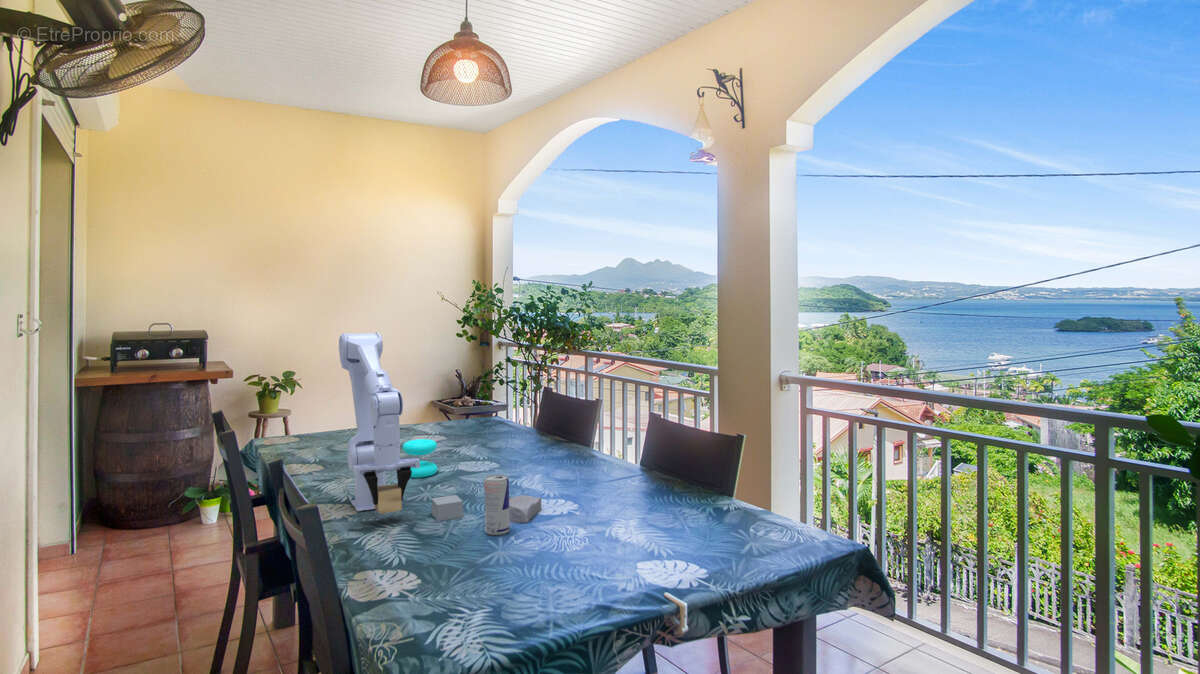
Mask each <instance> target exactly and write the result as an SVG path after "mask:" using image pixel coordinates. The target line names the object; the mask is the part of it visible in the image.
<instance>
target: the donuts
mask: <svg viewBox="0 0 1200 674" xmlns="http://www.w3.org/2000/svg"><path fill="white" fill-rule="evenodd" d="M437 448H438V443H437V442H436V441H435V440H433V439H428V438H425V439H424V438H422V439H421V438H419V439H412V440H408V441H406V442H404V443H403V444H402V451H403V452H404V453H406V454H407V455H409V456H426V455H430V454H432V453H433V452H435V451H436V450H437ZM411 470H412V474H411V476H410V478H414V479H418V478H428V477H431V476H434V475H435V474H436V473H437V472H438V466H437V463H435V462H433V461H430V460H420V468H415V467H414V468H411Z"/></svg>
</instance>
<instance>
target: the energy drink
mask: <svg viewBox="0 0 1200 674" xmlns="http://www.w3.org/2000/svg"><path fill="white" fill-rule="evenodd" d="M484 478H485V479H484V482H483V485H484V490H483V491H484V493H483V494H484V532H485V533H486V534H487V535H488V536H489V535H490V536H501V535H502V536H503V535H505V534H507V533H509V531H510V523H511V522H510V521H509V498H510V480H509V476H508V475H505V474H492V475H488V476H486V477H484Z"/></svg>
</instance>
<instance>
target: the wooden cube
mask: <svg viewBox="0 0 1200 674" xmlns="http://www.w3.org/2000/svg"><path fill="white" fill-rule="evenodd" d="M377 495H378V505H375V509H374V510H376V512H377V513H378V515H379V514H386V513H393V512H399V511H402V507H403V506H402V502H403V501H402V499H401V488H400V487H399V486H398V483H391V484H390V483H389V484H386V485H383V486H377Z"/></svg>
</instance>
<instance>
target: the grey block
mask: <svg viewBox="0 0 1200 674" xmlns="http://www.w3.org/2000/svg"><path fill="white" fill-rule="evenodd" d="M431 516H433V517H434V519H435V520H436V521H437V522H441V521H447V520H455V519H460V518H464V500H462V499H461V498H460V497H459V496H458V495H457V494H454V495H447V496H440V497H433V498H431Z"/></svg>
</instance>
